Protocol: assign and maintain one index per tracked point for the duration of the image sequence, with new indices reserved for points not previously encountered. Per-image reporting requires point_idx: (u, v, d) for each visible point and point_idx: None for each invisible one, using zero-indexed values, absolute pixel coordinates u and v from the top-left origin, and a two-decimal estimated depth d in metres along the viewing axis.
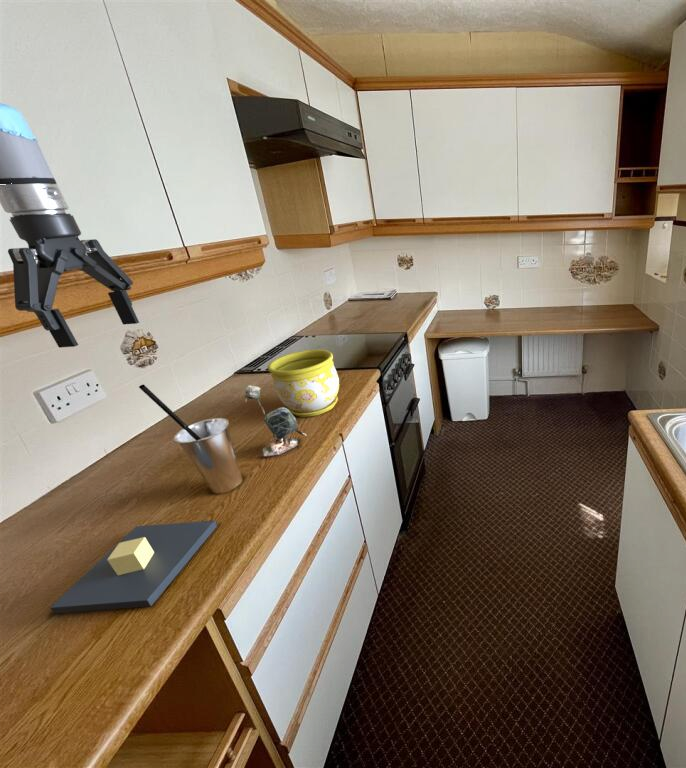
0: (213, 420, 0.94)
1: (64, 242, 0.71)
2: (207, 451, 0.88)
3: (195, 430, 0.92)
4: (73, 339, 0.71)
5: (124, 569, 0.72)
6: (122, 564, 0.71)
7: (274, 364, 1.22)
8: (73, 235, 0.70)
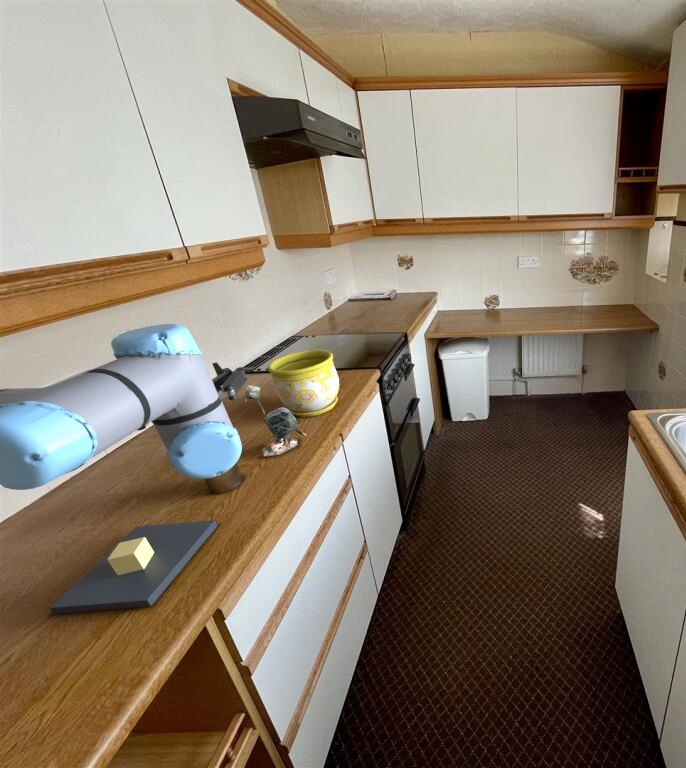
0: None
1: None
2: None
3: None
4: None
5: (124, 569, 0.72)
6: (122, 564, 0.71)
7: (274, 364, 1.22)
8: None
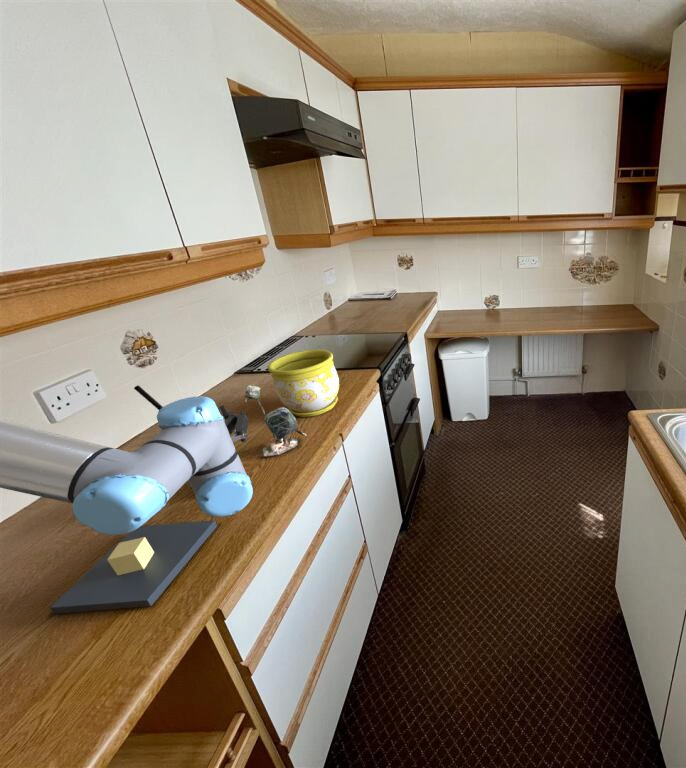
0: None
1: None
2: None
3: None
4: None
5: (124, 569, 0.72)
6: (122, 564, 0.71)
7: (274, 364, 1.22)
8: None
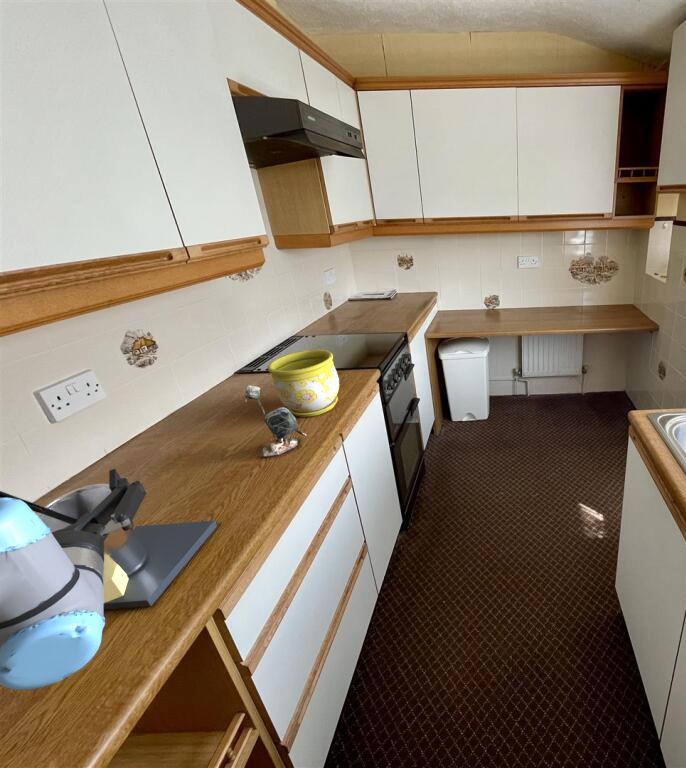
0: (97, 486, 0.69)
1: None
2: None
3: (70, 501, 0.68)
4: None
5: None
6: None
7: (274, 364, 1.22)
8: None
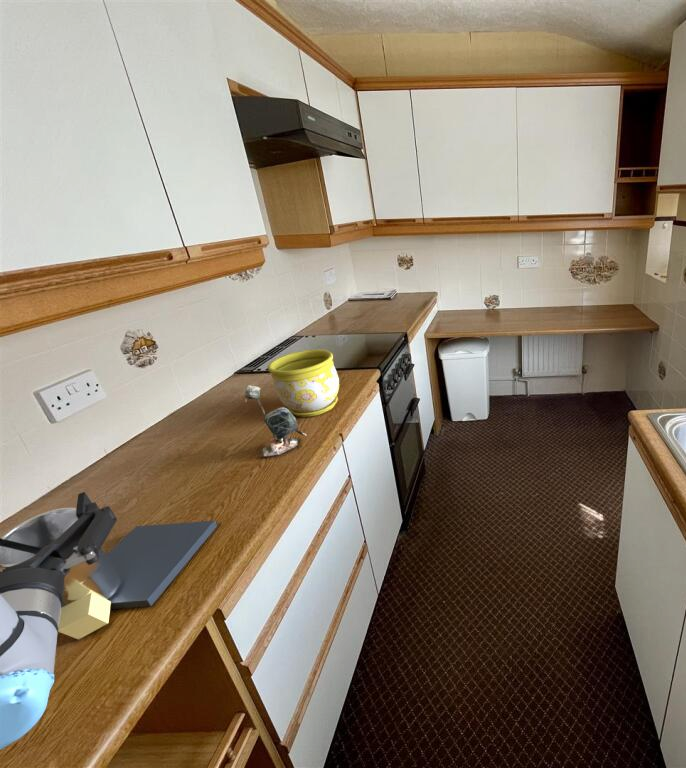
0: (64, 510, 0.63)
1: None
2: None
3: (34, 526, 0.62)
4: None
5: (84, 631, 0.63)
6: (78, 628, 0.62)
7: (274, 364, 1.22)
8: None
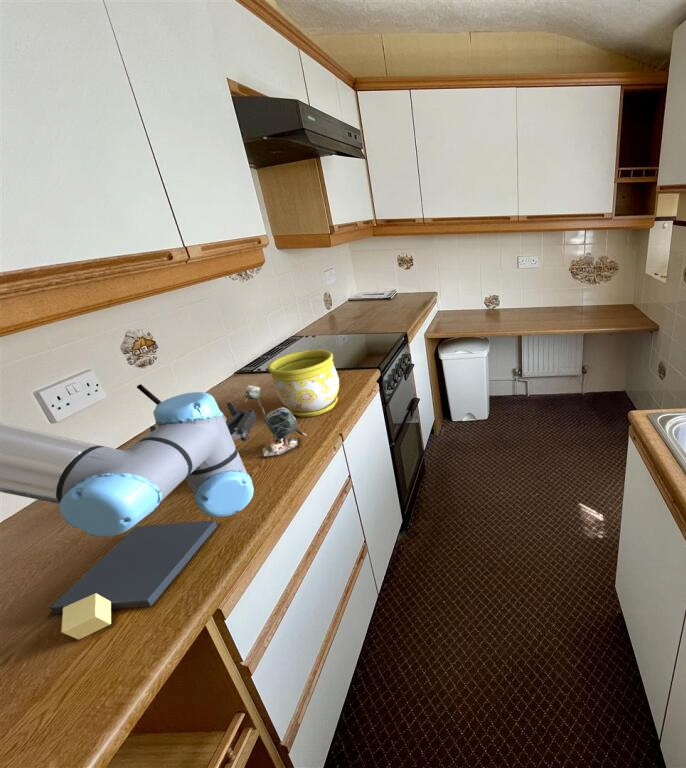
0: None
1: None
2: None
3: None
4: None
5: (86, 632, 0.63)
6: (82, 629, 0.62)
7: (274, 364, 1.22)
8: None
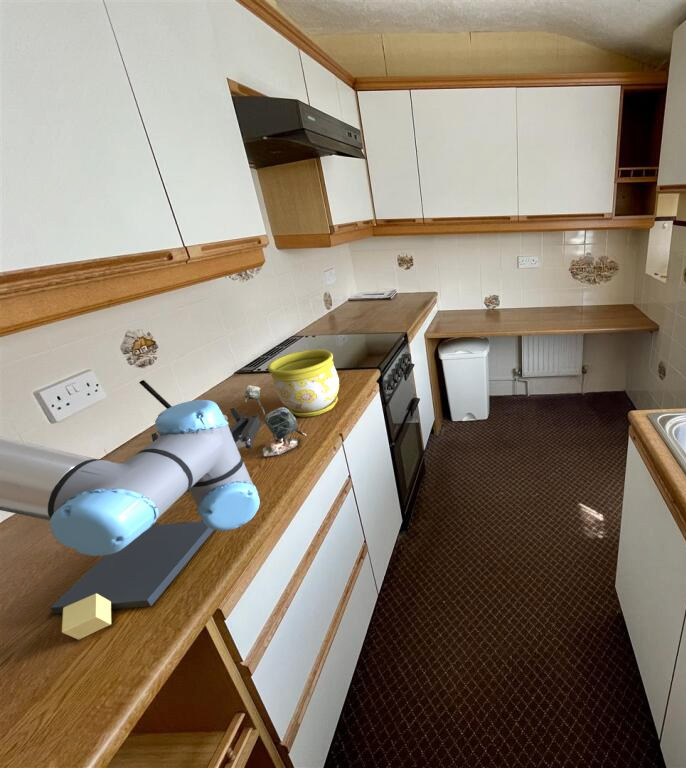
0: None
1: None
2: None
3: None
4: None
5: (86, 632, 0.63)
6: (82, 629, 0.62)
7: (274, 364, 1.22)
8: None
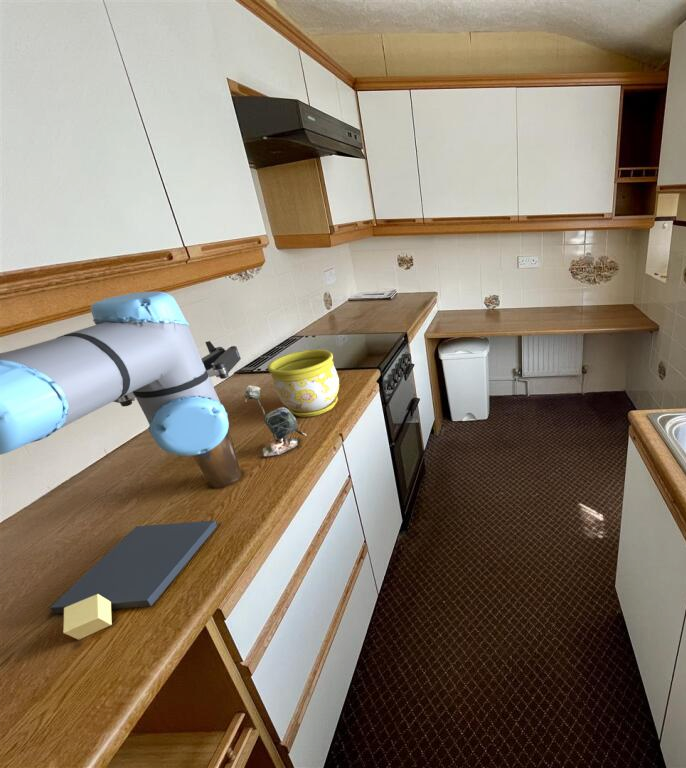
0: None
1: None
2: None
3: None
4: None
5: (86, 632, 0.63)
6: (83, 629, 0.62)
7: (274, 364, 1.22)
8: None
